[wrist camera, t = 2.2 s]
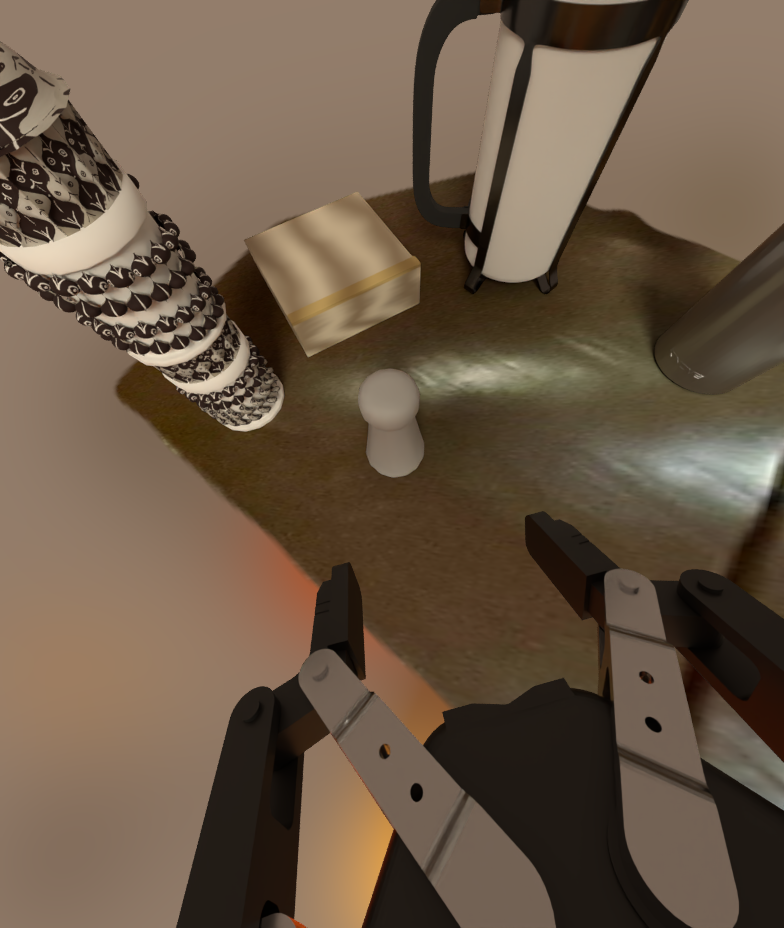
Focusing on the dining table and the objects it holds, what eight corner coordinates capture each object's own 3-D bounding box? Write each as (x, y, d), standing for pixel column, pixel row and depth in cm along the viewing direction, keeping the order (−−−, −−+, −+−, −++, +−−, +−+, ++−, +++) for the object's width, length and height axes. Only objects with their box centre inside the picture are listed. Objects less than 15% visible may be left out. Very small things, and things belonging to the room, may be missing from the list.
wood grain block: (363, 232, 43) (356, 187, 38) (419, 303, 38) (420, 263, 33) (262, 276, 42) (242, 236, 37) (307, 357, 37) (291, 323, 32)
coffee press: (502, 207, 43) (676, -471, 15) (589, 267, 39) (1081, -553, 10) (408, 264, 41) (404, -423, 12) (489, 336, 36) (777, -503, 8)
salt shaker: (358, 458, 32) (325, 392, 20) (394, 422, 33) (385, 338, 21) (398, 494, 30) (389, 446, 18) (434, 455, 32) (449, 385, 19)
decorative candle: (196, 404, 35) (-233, 83, 12) (254, 354, 37) (-14, -9, 14) (243, 450, 33) (-175, 164, 9) (303, 394, 35) (79, 40, 11)
